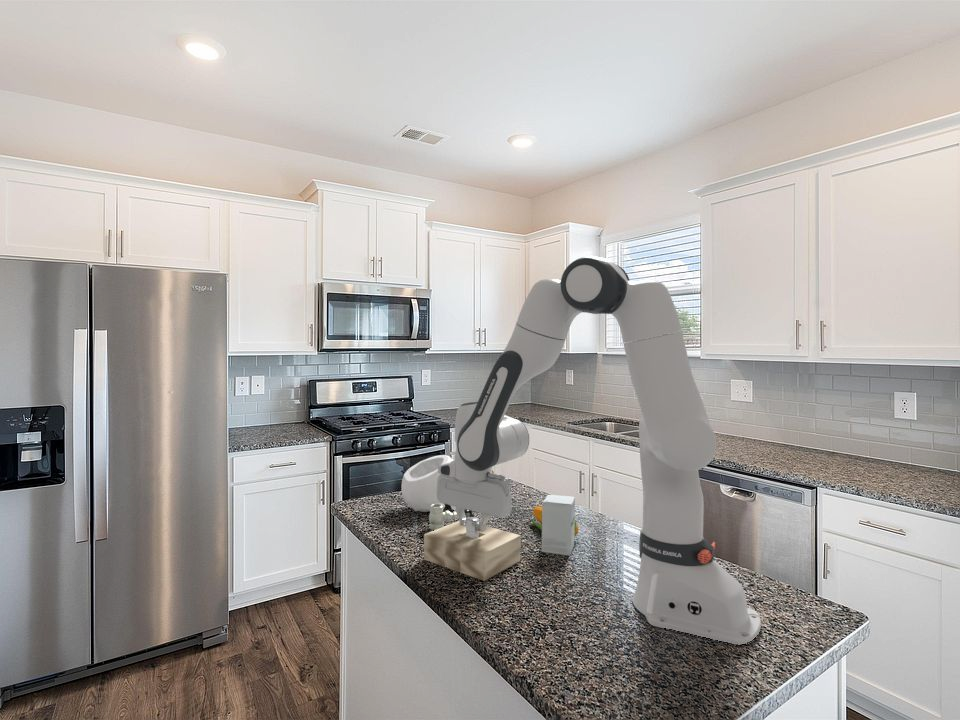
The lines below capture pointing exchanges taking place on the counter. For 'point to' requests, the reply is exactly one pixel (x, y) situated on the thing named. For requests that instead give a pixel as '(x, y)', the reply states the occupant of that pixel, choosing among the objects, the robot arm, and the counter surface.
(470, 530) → the steel peg
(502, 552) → the hole block
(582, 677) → the counter surface
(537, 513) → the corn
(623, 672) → the counter surface
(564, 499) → the supplement box
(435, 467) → the skull planter
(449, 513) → the valve
